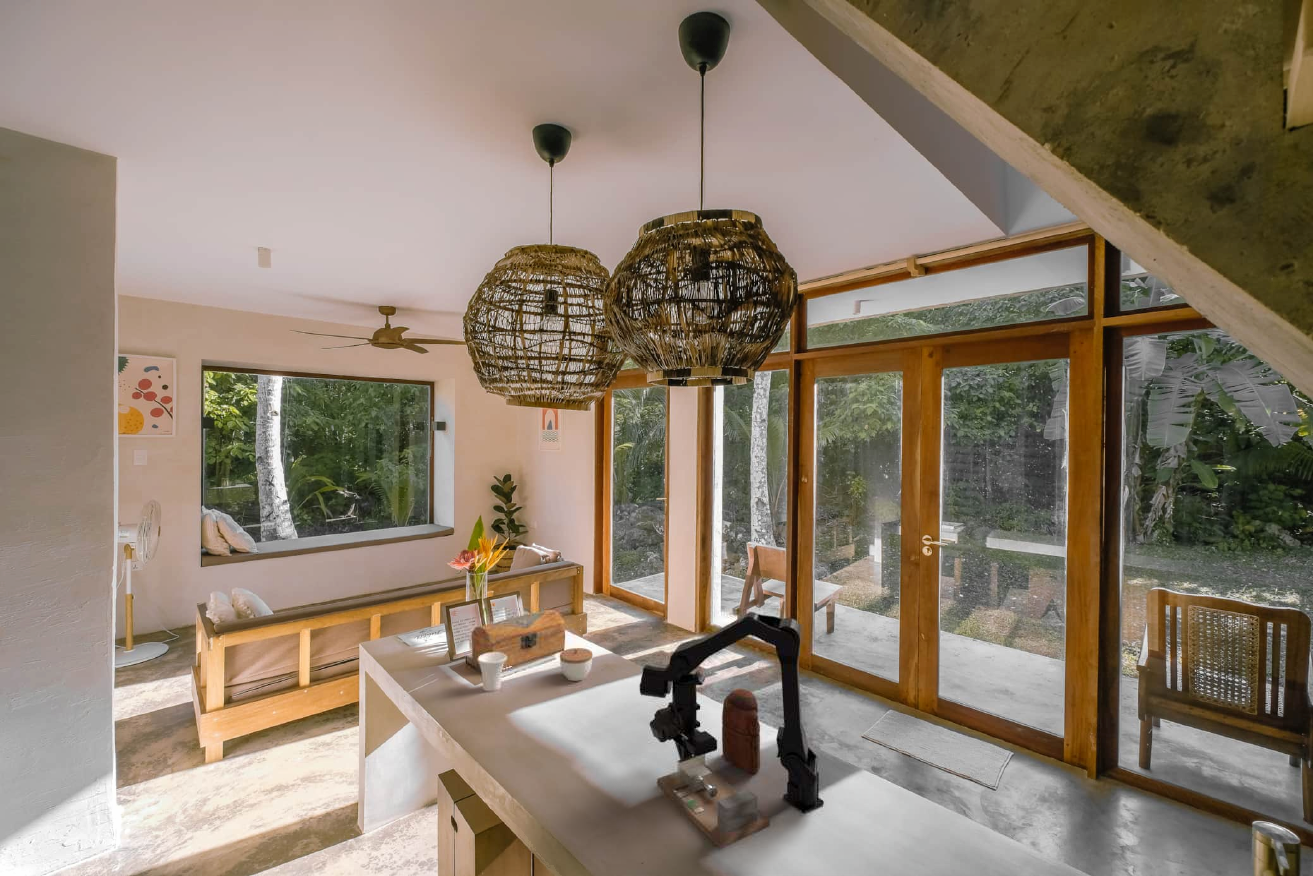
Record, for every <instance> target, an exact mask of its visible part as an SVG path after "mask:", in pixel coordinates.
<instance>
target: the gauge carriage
mask: <svg viewBox="0 0 1313 876" xmlns="http://www.w3.org/2000/svg"><path fill="white" fill-rule="evenodd" d="M705 764H706V754H704V755H701V756H694V755H692V756H690V757H687V758H684V759H681V760H680V759H679V760H677V772H678V783H679V784H683V783H684V784H685V785H684V786H681V787H679V788H675V790H676V791H679V790H681V789H684V788H687V787H688V788H689V789H690V790H691V791H692V792H693V793H694V792H697V791H699V790H702V789H706V790H707V791H708V792H709V795H710V796H711V797H715V796H716V795H717V789H716V788H715V787H711V786H712V772H710V771H709V770H708V769H707V768H706V767H705Z"/></svg>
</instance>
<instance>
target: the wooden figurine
mask: <svg viewBox="0 0 1313 876" xmlns="http://www.w3.org/2000/svg"><path fill="white" fill-rule="evenodd" d="M722 705H723V706H722V713H721V715H722V716H721V725H722V726H721V742H722V743H721V745H722V746H721V747H722V757H723V758H724V759H725V760H726V761H727V762H729V763H731V764H732V765H734V766H736V767H738V768H740V769H742V770H743V771H745V772H747V773H749V774H757V773H759V770H760V769H761V735H760V732H761V724H760V722H759V717H758V713H759V707H758V705H759V704H758V702H757V697H756V695H755V694H754V693H753V692H751V691H750V690H747V689H744V688H737V689H735V690H733V691H731V692H730V693H728V695H727V696H725V698H724V700H723V703H722Z"/></svg>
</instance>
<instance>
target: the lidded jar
mask: <svg viewBox="0 0 1313 876" xmlns="http://www.w3.org/2000/svg"><path fill="white" fill-rule="evenodd" d="M559 661H560V662H559V665H560V670H561V672H562V674H563V675H564V676H565V677H566V679H567V680H569V681H572V682H579V681H582V680H585V678H586V677H587V676H588V674H589V673H591V669H592V664H593V652H592V651H591V650H590V649H587V648H582V647H574V648H568V649H564V651H562V652H560V654H559Z"/></svg>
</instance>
